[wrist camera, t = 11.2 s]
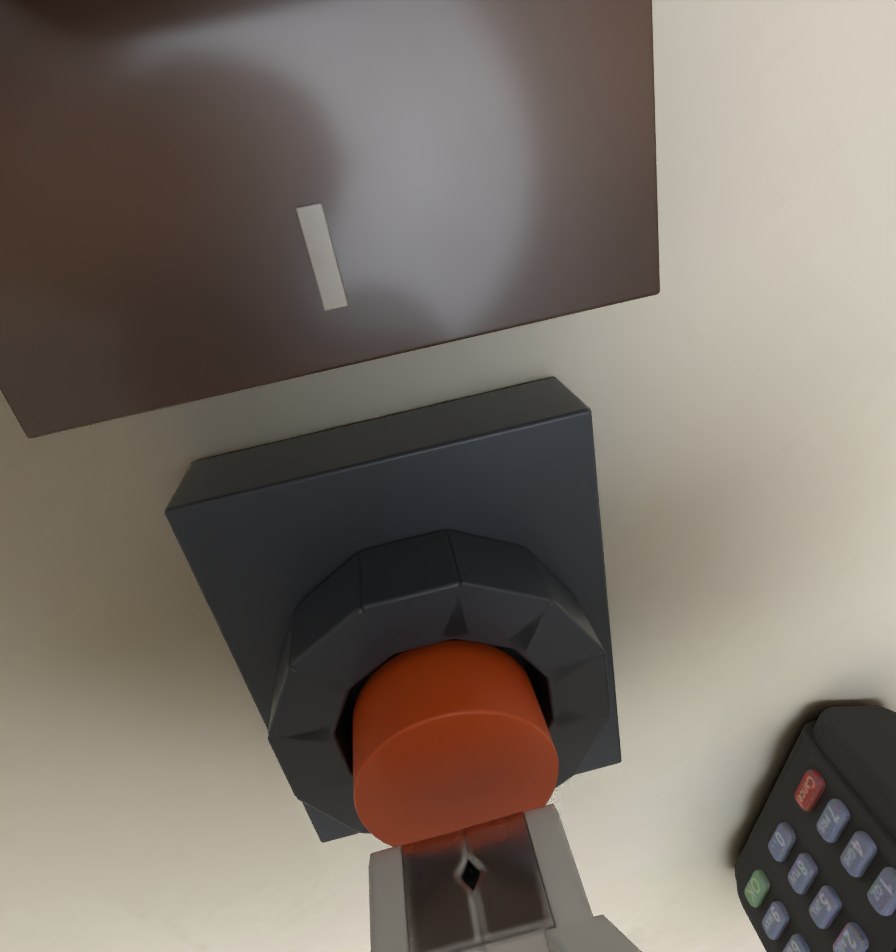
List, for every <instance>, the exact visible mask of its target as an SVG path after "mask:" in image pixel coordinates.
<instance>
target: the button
mask: <svg viewBox="0 0 896 952" xmlns="http://www.w3.org/2000/svg"><path fill="white" fill-rule="evenodd" d="M558 771H559V763H558V756H557V752H556V749H555V746H554V744H553V741H552V738H551V736H550V733H549V730H548V727H547V725H546V722H545V719H544V717H543V714H542V711H541V708H540V706H539V703H538V700H537V698H536V695H535V692H534V690H533V687H532V684H531V681H530V679H529V677H528V675H527V673H526V672H525V670H524V669H523V667H522V666H521V665H520V664H519V663H518V662H517V661H516V660H515V659H514V658H512V657H511V656H510V655H508V654H507V653H505V652H504V651H502V650H500V649H498V648H496V647H493V646H490V645H488V644H483V643H477V642H471V641H465V640H447V641H443V642H439V643H435V644H431V645H427V646H423V647H419V648H415V649H411V650H407V651H405V652H402V653H401V654H399V655H397V656H395V657H393V658H392V659H390V660H389V661H387V662H386V663H385V664H383V665H382V666H381V667H380V668H379V669H377V670H376V671H375V672H374V673H373V674H372V675H371V677H370V678H369V679H368V680H367V681H366V683H365V684H364V686H363V687H362V689H361V691H360V693H359V695H358V697H357V699H356V702H355V706H354V710H353V797H354V805H355V809H356V812H357V814H358V816H359V818H360V820H361V822H362V824H363V825H364V826H365V827H366V829H367V830H368V831H369V832H370V833H371V834H373V835H374V836H375V837H376V838H378V839H379V840H381V841H382V842H384V843H386V844H388V845H390V846H392V847H396V846H399V845H406V844H410V843H413V842H417V841H421V840H425V839H428V838H432V837H436V836H440V835H443V834H447V833H451V832H454V831H458V830H462V829H464V828H467V827H471V826H474V825H478V824H481V823H484V822H488V821H491V820H495V819H498V818H502V817H505V816H509V815H512V814H515V813H519V812H522V813H524V812H525V811H529V810H532V809H536V808H539V807H543V806H545V805H546V803H547V802H548V800H549V799H550V797H551V795H552V793H553V791H554V789H555V786H556V783H557V779H558Z"/></svg>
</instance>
